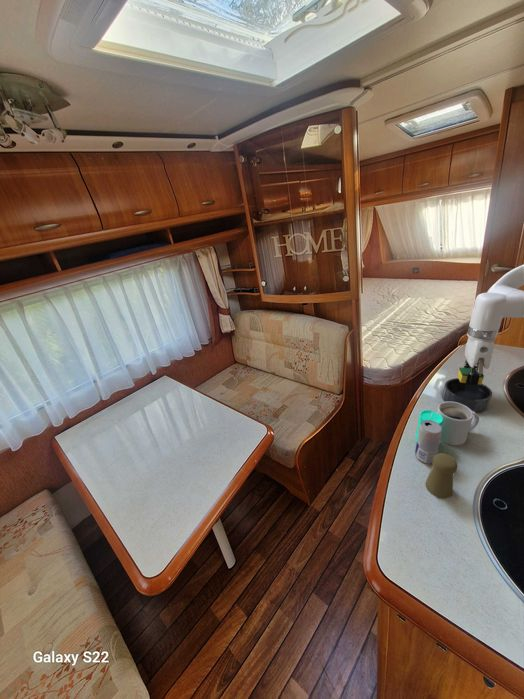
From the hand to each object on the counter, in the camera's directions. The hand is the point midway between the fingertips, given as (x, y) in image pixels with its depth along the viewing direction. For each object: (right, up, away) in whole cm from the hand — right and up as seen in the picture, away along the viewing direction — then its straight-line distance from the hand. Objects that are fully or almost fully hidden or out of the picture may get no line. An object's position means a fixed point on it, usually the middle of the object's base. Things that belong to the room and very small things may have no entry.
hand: (469, 379), depth 94 cm
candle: (-21, -19, -9) cm, 30 cm away
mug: (-12, -17, -8) cm, 22 cm away
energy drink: (-24, -22, -14) cm, 35 cm away
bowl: (+1, -8, +4) cm, 10 cm away
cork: (-26, -26, -23) cm, 43 cm away
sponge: (0, 0, 0) cm, 0 cm away
